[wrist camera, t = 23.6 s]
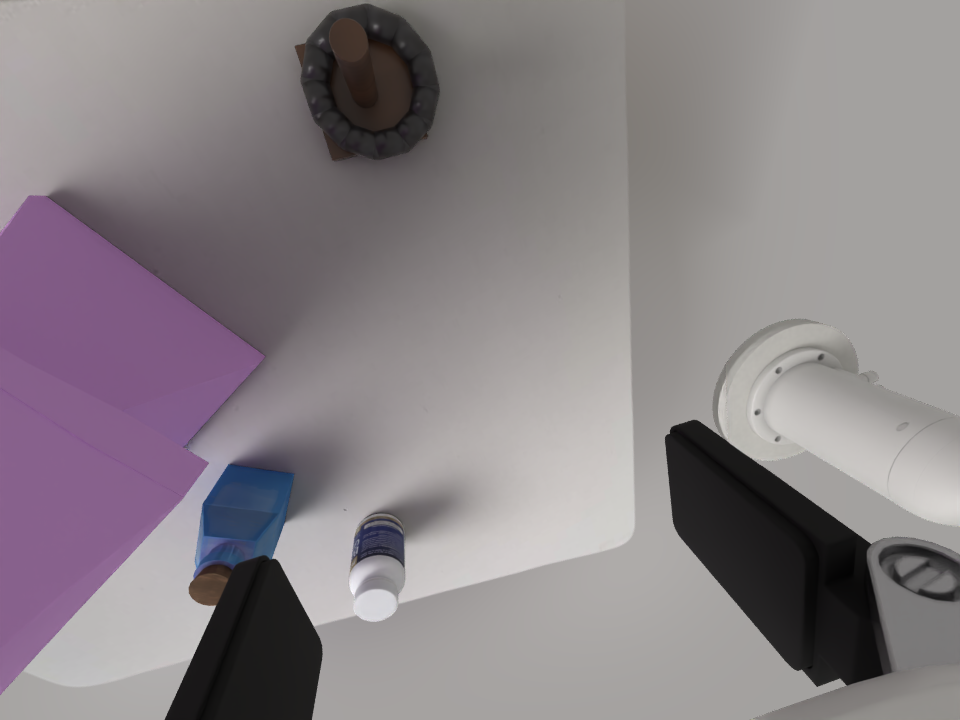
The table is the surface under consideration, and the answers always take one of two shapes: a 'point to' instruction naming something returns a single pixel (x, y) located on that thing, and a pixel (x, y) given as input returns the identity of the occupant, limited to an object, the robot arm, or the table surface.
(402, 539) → the pill bottle
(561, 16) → the table surface
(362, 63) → the stand
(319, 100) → the ring
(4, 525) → the purple table lamp
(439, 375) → the table surface
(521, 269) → the table surface
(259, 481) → the perfume bottle
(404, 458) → the table surface
